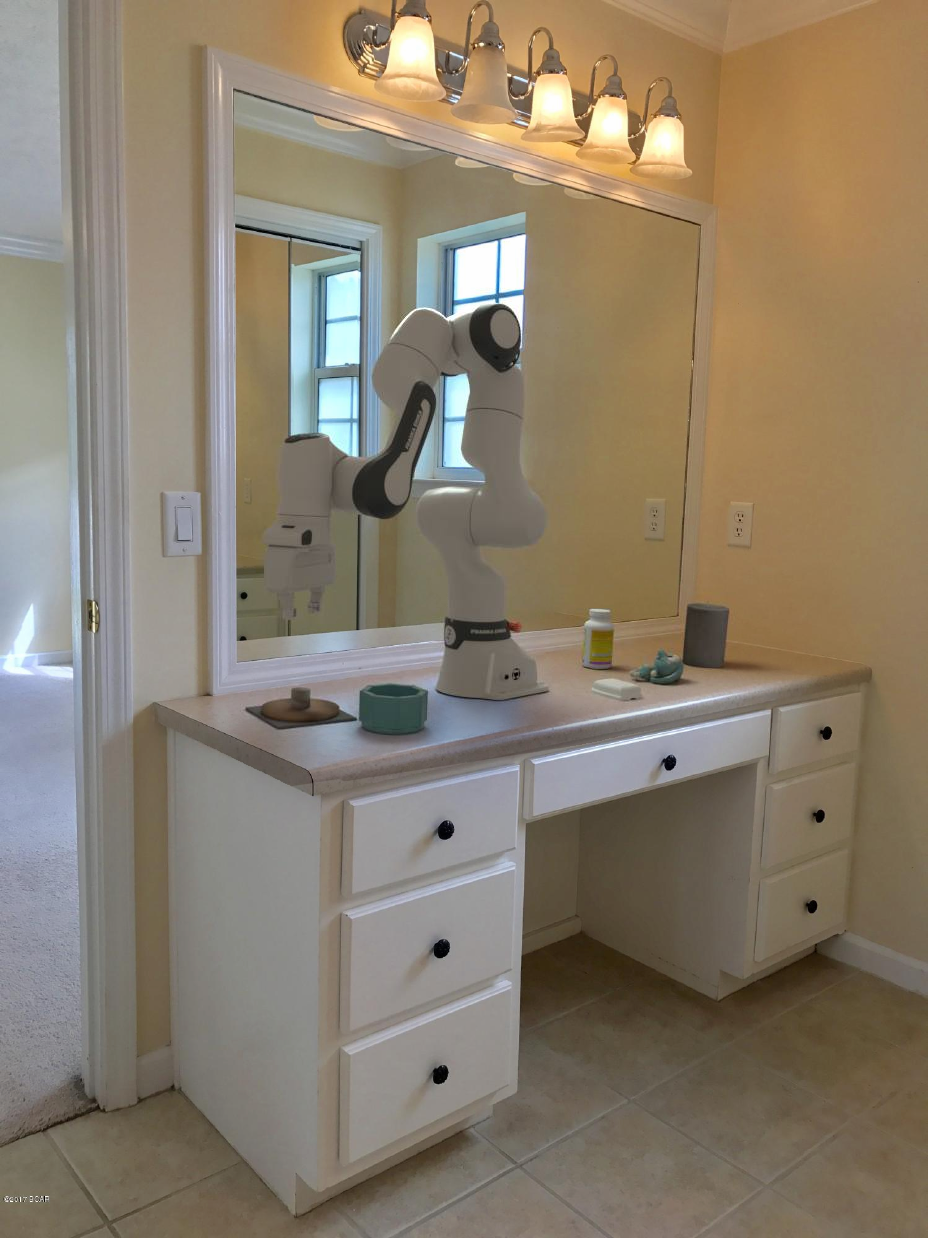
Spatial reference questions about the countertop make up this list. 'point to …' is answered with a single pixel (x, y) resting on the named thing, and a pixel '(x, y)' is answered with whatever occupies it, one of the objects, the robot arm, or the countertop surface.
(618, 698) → the soap
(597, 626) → the supplement bottle
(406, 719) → the bowl
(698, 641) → the pillar candle
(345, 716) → the mat
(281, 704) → the lid
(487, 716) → the countertop surface
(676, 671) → the stuffed animal
